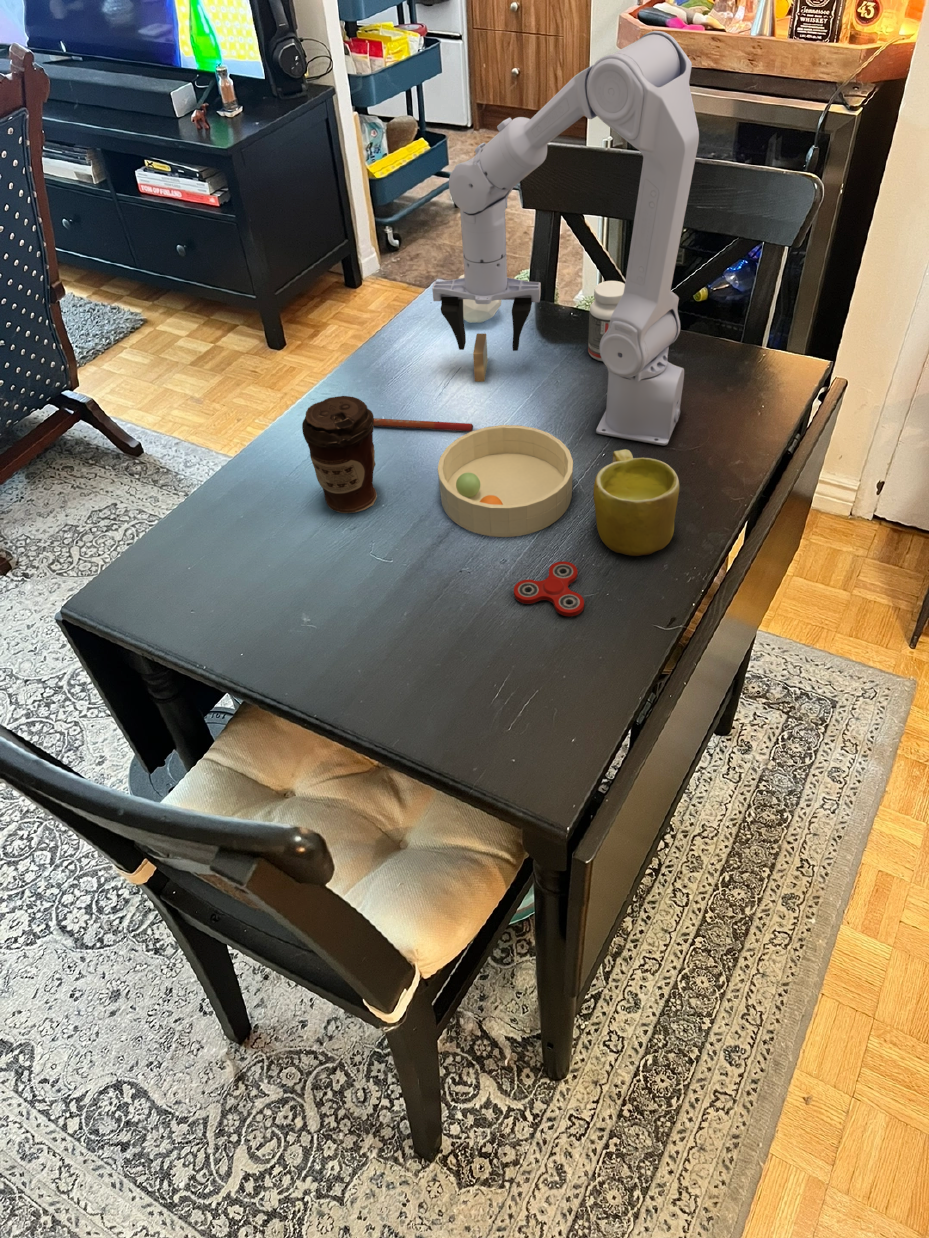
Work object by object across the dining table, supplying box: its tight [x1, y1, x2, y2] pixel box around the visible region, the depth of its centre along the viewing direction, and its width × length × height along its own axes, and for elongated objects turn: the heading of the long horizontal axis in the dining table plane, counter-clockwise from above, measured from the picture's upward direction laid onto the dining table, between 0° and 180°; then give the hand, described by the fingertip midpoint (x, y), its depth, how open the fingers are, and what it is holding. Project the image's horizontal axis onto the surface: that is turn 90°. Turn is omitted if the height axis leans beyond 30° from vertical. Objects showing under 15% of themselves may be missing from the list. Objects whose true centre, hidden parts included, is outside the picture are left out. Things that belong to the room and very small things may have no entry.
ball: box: [457, 273, 502, 324], centre depth 140 cm, size 8×8×8 cm
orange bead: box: [480, 495, 503, 505], centre depth 108 cm, size 3×3×3 cm
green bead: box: [456, 472, 481, 497], centre depth 111 cm, size 3×3×3 cm
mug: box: [593, 448, 680, 557], centre depth 104 cm, size 12×10×10 cm
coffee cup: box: [301, 395, 378, 514], centre depth 109 cm, size 9×8×13 cm
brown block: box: [472, 333, 489, 383], centre depth 131 cm, size 1×6×4 cm, turn 174°
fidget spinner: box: [513, 560, 585, 617], centre depth 100 cm, size 8×7×1 cm
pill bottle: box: [587, 280, 625, 362], centre depth 130 cm, size 6×6×10 cm
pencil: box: [373, 417, 474, 432], centre depth 123 cm, size 19×1×1 cm, turn 80°
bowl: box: [437, 424, 574, 538], centre depth 111 cm, size 16×16×4 cm
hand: (489, 346), depth 129 cm, fingers open, 7 cm apart
